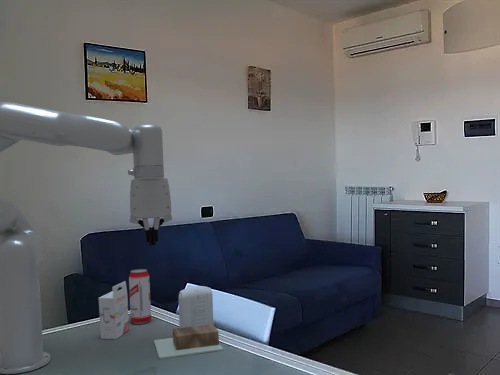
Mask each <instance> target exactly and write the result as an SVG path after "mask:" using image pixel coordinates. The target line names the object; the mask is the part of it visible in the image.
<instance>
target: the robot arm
mask: <svg viewBox="0 0 500 375" xmlns="http://www.w3.org/2000/svg"><path fill="white" fill-rule="evenodd" d="M21 141H28V142H31V143H33V142H34V143H38V144H39V143H40V144H43V145H44V144H45V145H49V146H55V147H66V146H67V147H68V146H70V147H71V146H72V147H79V148H87V149H91V150H97V151H101V152H102V151H103V152H107V153H109V154H110V155H114V156H122V155H123V156H124V155H129V154H132V157H133V158H132V159H133V160H132V161H133V167H132V168H131V169H128V170H127V173H128V174H127V175H130V176H133V179H131V181H130V190H129V213H130V217H129V223H130V224H137V225H139V226H140V227H142V228H143V229H144V231H145V233H144V234H145V243H148V246H149V247H152V246H156V243H157V242H159V233H158V232H159V231H158V230H159V228H160V227H162V225H163V224H164V223H167V222H170V221H172V220H173V217H172V201H171V192H170V191H171V190H170V185H169V180H168V178H165V170H164V169H165V168H164V166H165V165H164V164H165V163H164V148H163V147H164V146H163V145H164V142H163V130H162V127H161V126H160V125H157V124H139V125H135V126H133V127H128V126H126V125H125V124H123V123H122V122H119V121H116V120H115V121H114V120H110V119H105V118H101V117H100V118H99V117H95V116H89V115H83V114H77V113H76V114H75V113H71V112H65V111H60V110H56V109H55V110H53V109H49V108H44V107H38V106H33V105H28V104H23V103H17V102H13V101H1V102H0V153H2V152H4V151H5V150H8V149H9V148H11V147H13V146H14V145H16V144H18V143H19V142H21ZM149 219H153V225H152V227H150V224H149ZM45 247H46V246H45V243H44V240H43V238H42V237H41V236H40V234H39V232H38V231H37V230H36V229H35V227H34V226H33V225H32V223H31V222H30V221H29V219H28V218H27V216H26V215H25V214H24V213H23V211H22V210H21V209H20V207H19V206H18V205H17V204H16V203H15V202H13V201H12V200H11V199H8V198H6V197H0V374H1V375H11V374H12V375H13V374H14V375H15V374H23V373H27V372H30V371H34V370H37V369H40V368H42V367H44V366H46V365H48V364H49V363H50V361H51V354H50V353H48V352H46V351H44V343H43V339H44V338H43V321H42V300H41V285H40V276H39V274H40V273H39V268H38V267H39V266H38V264H39V263H40V262H41V260H43V257H44V255H45V251H46V248H45Z"/></svg>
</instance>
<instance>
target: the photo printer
mask: <svg viewBox="0 0 500 375" xmlns="http://www.w3.org/2000/svg"><path fill="white" fill-rule="evenodd" d="M178 292H179V293H178V316H179V317H178V322H179V327H178V328H184V327H193V326H201V325H209V324H213V325H214V303H213V298H214V297H213V291H212V288H211V287H208V286H205V285H195V286H194V285H193V286H190V287H186V288H184V289H182V290H180V291H178Z"/></svg>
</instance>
